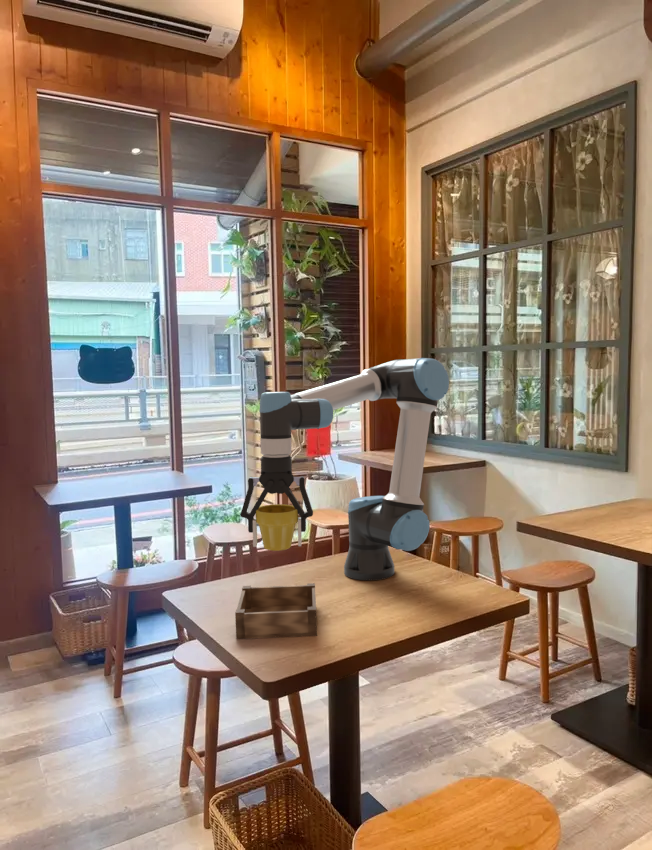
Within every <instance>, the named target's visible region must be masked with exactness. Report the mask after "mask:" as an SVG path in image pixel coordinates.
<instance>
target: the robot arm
mask: <svg viewBox="0 0 652 850" xmlns="http://www.w3.org/2000/svg"><path fill="white" fill-rule="evenodd" d="M449 387H450V378H449V374H448V371H447V370H446V369H445V366H444V364H443V363H442V362H440V361H439V360H438V359H435V358H429V357H419V358H405V359H403V358H402V359H401V358H400V359H394V360H390V361H387V362H384V363H381V364H378V365H375V366H371V367H369V368H366V369H363V370H362V371H361V372H360V374H358V375H354V376H351V377H348V378H344V379H340V380H337V381H334V382H331V383H328V384H327V383H326V384H324V385H320V386H317V387H314V388H311V389H307V390H303V391H300V392H296V393H294V394H291V392H289V391H266V392H263V393H261V394H260V397H259V399H260V400H259V410H258V411H259V429H260V430H259V432H260V433H259V434H260V441H259V442H260V454H261V457H260V475H259V476H255V477H253V476H249V478H248V479H247V486H248V487H247V491H246V495H245V497H244V500H243V501H244V502H243V505H242V508H241V512H240V517H241V518H243V519H244V518H245V519H247V524H248V525H247V526H248V527H247V528H248V529H247V530H248V534H249V533H252V547H253V548H256V547H257V546H258V524H257V522H256V517H255V516H256V510H258V509H259V507H261V506H262V503H263V502H264V501H265V498H266V497H267V495H268V493H269V495H270V494H271V495H273V494H274V495H275V494H281V495H283V494H285V495H286V497H287V498H288V499H289V501H290V503H291V505H292V506H294V508H295V509H297V512H298V522H297V542H298V543H297V546H298V547H302V533H306V531H307V518H310V517H313V515H314V510H313V508H312V504H311V501H310V498H309V495H308V492H307V489H306V486H305V483H306V482H305V479H306V478H305V476H304V475H301V476H294V474H293V463H292V459H293V458H292V456H291V454H292V431H296V430H310V429H311V430H312V429H317V430H319V429H324V428H328V427H329V426H331V424H332V422H333V421H334V411H335V410H338V409H339V410H340V409H341V408H345V407H348V406H351V405H354V404H358V403H360V402H363V401H370V402H374V401H379V400H384V399H396V400H395V401H396V404H397V406H398V407H399V409H400V411H399V412H400V413H399V419H398V426H397V433H396V434H397V435H396V441H395V447H394V448H395V449H394V454H393V455H394V456H393V462H392V468H391V477H390V482H389V488H388V489H389V491H388V493H387V494H386V495H369V496H362V497H356V498H353V499H351V500H350V501H349V503H348V511H347V515H348V519H347V520H348V541H349V543H348V544H349V548H348V551H347V555H346V558H345V562H344V566H343V573H344V575H345V576H346V577H348V578H350V579H352V580H353V579H354V580H359V581H379V580H384V579H388V578H391V577H392V576H394V575H395V563H394V560H393V557H392V555H391V551H390V549H389V547H391V548H394V549H395V550H401V551H408V552H410V551H414V550H416V549H418V548H419V547H420V546H421V545H422V544H423V543H424V542H425V541H426V540H427V537H428V534H429V532H430V527H431V526H430V520H429V518H428V514H426V513H425V512H424V506H425V503H424V502H423V501H422V498H420V495H421V489H422V488H421V487H422V480H423V473H424V464H425V457H426V451H427V443H428V436H429V429H430V428H429V427H430V422H431V414H432V413H433V412H434V411H436V410H437V408H438V404H439V401H440V400H441V399H443V398H444V397H445V395H447V393H448V391H449ZM294 482H295V484H296V486H298V487H299V491H300V493H301V498H302V501H303V503H304V506H305V509H306V511H305V510H304V509H303V507H302V505H301V504H300V502H299V501H298V500H297V498H296V496H295V494H294V493H293V490H292V489H291V486H292V484H293V483H294ZM258 483H260V484H261V486H262V487H263V488H264V489H262V492H261V493H260V495H259V497H258V499H257V500H256V501H255V502H256V503H255V504H254V506H253V507H252V509H251V510H250V512H248V510H249V506H250V504H251V500H252V496H253V492H254V489H255V487H256V486H258Z"/></svg>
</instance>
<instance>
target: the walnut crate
mask: <svg viewBox="0 0 652 850" xmlns="http://www.w3.org/2000/svg"><path fill="white" fill-rule="evenodd" d="M241 590H242V591H241V593H240V597H239V601H238V604H237V606H236V607H237V608H236V609H235V611H234V612H235V613H234V615H235V637H236V640H238V639H239V640H243V639H247V640H248V639H265V638H266V639H267V638H289V637H293V638H294V637H297V638H298V637H315V636H316V637H317V636H318V623H317V622H318V620H317V604H316V603H317V601H316V596H317V595H316V583H315V582H314V583H313V582H312V583H306V584H305V585H303V584H299V585H297V584H296V585H279V586H275V585H274V586H251V585H242V587H241Z"/></svg>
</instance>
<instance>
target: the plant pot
mask: <svg viewBox="0 0 652 850" xmlns="http://www.w3.org/2000/svg"><path fill="white" fill-rule="evenodd" d="M298 517H299V514H298V512H297V509H295V508H294V506H293V504H279V503H277V504H276V503H275V504H266V505H260V507H259V509H258V510H256V514H255V518H256V522H257V525H258V527H259V531H260V535H261V540H262V545H263V548H264V549H265V550H268V551H270V552H271V551H272V552H273V551H274V552H275V551H276V552H277V551H279V552H281V551H287V550H289V549H290V548H291V547H292V543H293V537H294V532H295V528H296V523H297V524H298Z"/></svg>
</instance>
